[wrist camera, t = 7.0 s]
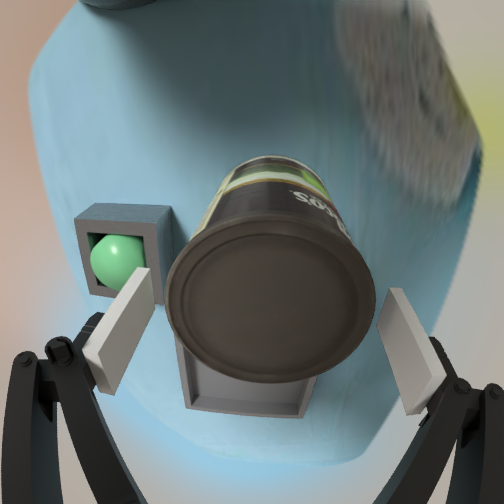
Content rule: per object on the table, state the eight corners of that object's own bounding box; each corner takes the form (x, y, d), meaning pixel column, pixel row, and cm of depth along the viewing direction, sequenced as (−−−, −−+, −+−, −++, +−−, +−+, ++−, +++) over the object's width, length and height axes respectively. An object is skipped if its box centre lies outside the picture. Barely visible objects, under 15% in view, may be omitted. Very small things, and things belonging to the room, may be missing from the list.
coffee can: (286, 129, 24) (302, 165, 11) (351, 226, 27) (404, 333, 15) (189, 200, 27) (123, 292, 14) (258, 282, 30) (248, 403, 18)
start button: (106, 220, 27) (85, 238, 24) (153, 223, 27) (136, 243, 24) (113, 265, 30) (96, 287, 26) (157, 270, 30) (144, 294, 26)
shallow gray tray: (179, 306, 32) (172, 323, 30) (326, 318, 32) (329, 336, 30) (189, 392, 40) (185, 408, 37) (301, 402, 39) (302, 418, 37)
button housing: (95, 203, 27) (73, 218, 24) (170, 205, 27) (155, 223, 24) (106, 273, 31) (89, 294, 28) (175, 281, 31) (163, 304, 27)
